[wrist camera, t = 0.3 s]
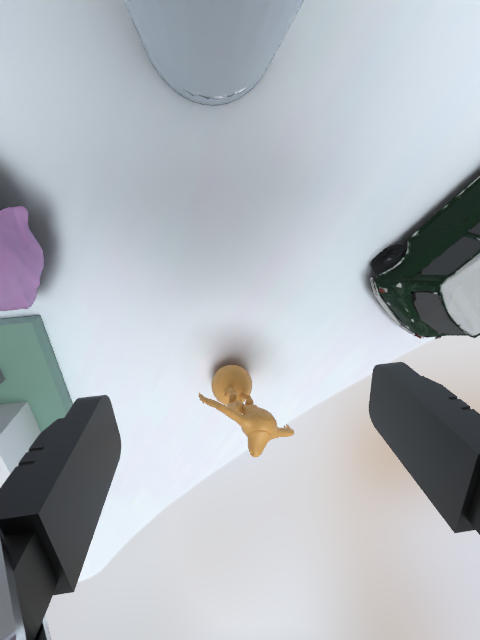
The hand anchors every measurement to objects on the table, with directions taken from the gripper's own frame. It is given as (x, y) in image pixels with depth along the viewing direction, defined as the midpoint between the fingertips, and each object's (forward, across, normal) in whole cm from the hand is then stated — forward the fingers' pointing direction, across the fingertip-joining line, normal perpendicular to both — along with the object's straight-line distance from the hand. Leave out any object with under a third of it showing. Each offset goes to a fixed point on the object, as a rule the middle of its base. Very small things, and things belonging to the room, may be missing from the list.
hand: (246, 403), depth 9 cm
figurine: (+20, -1, +10) cm, 22 cm away
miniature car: (+19, -22, -1) cm, 30 cm away
